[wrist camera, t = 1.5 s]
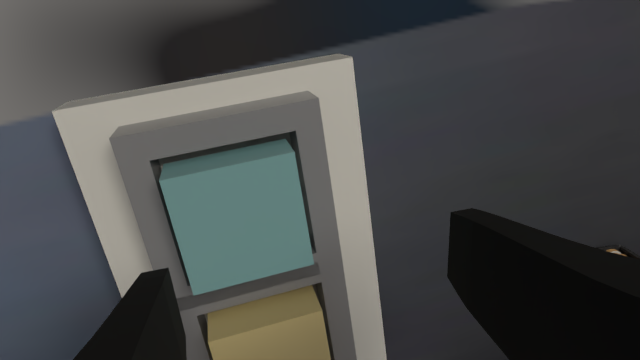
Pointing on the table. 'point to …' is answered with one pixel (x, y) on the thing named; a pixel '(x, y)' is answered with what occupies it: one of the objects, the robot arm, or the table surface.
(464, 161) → the table surface
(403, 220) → the table surface
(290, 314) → the ochre key
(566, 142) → the table surface
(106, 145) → the button pad
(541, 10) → the table surface
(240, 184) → the teal key
